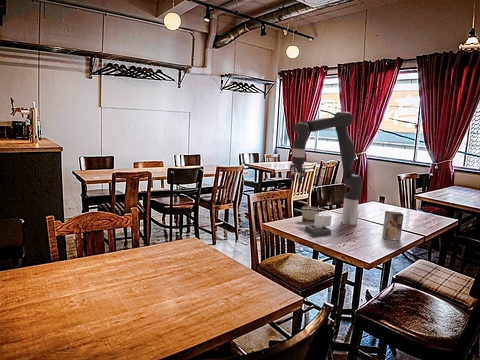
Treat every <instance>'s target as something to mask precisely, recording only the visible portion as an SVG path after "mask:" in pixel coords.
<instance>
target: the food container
mask: <svg viewBox="0 0 480 360" xmlns="http://www.w3.org/2000/svg"><path fill="white" fill-rule="evenodd" d="M300 209H301V210H300V211H301V217H302V218H301V222H302V223H305V222H310V223H314V221H315V214H320V213H321V210H320V208H318V207H316V206H310V205H309V206H308V205H307V206H302V207H301V208H300Z"/></svg>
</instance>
